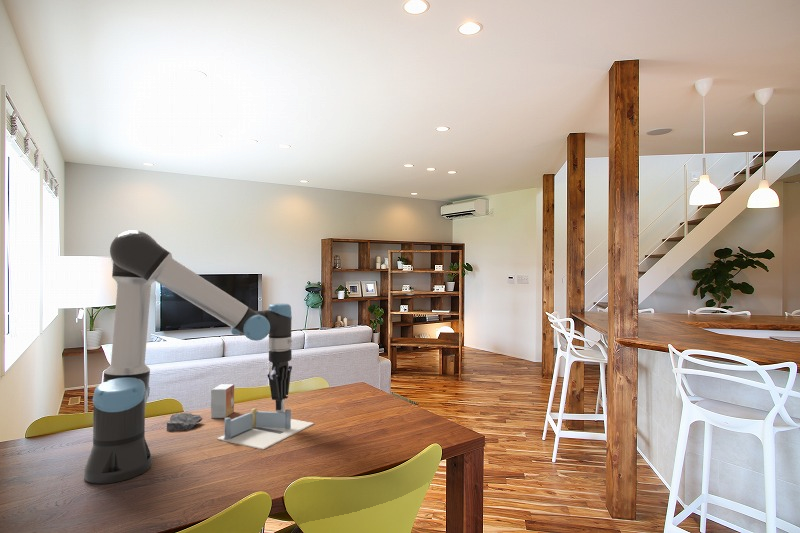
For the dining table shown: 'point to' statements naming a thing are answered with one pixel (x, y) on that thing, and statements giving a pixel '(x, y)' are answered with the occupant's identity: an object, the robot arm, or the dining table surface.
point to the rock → (183, 421)
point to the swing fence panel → (271, 419)
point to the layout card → (266, 435)
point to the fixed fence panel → (237, 425)
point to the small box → (222, 401)
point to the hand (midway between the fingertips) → (280, 418)
